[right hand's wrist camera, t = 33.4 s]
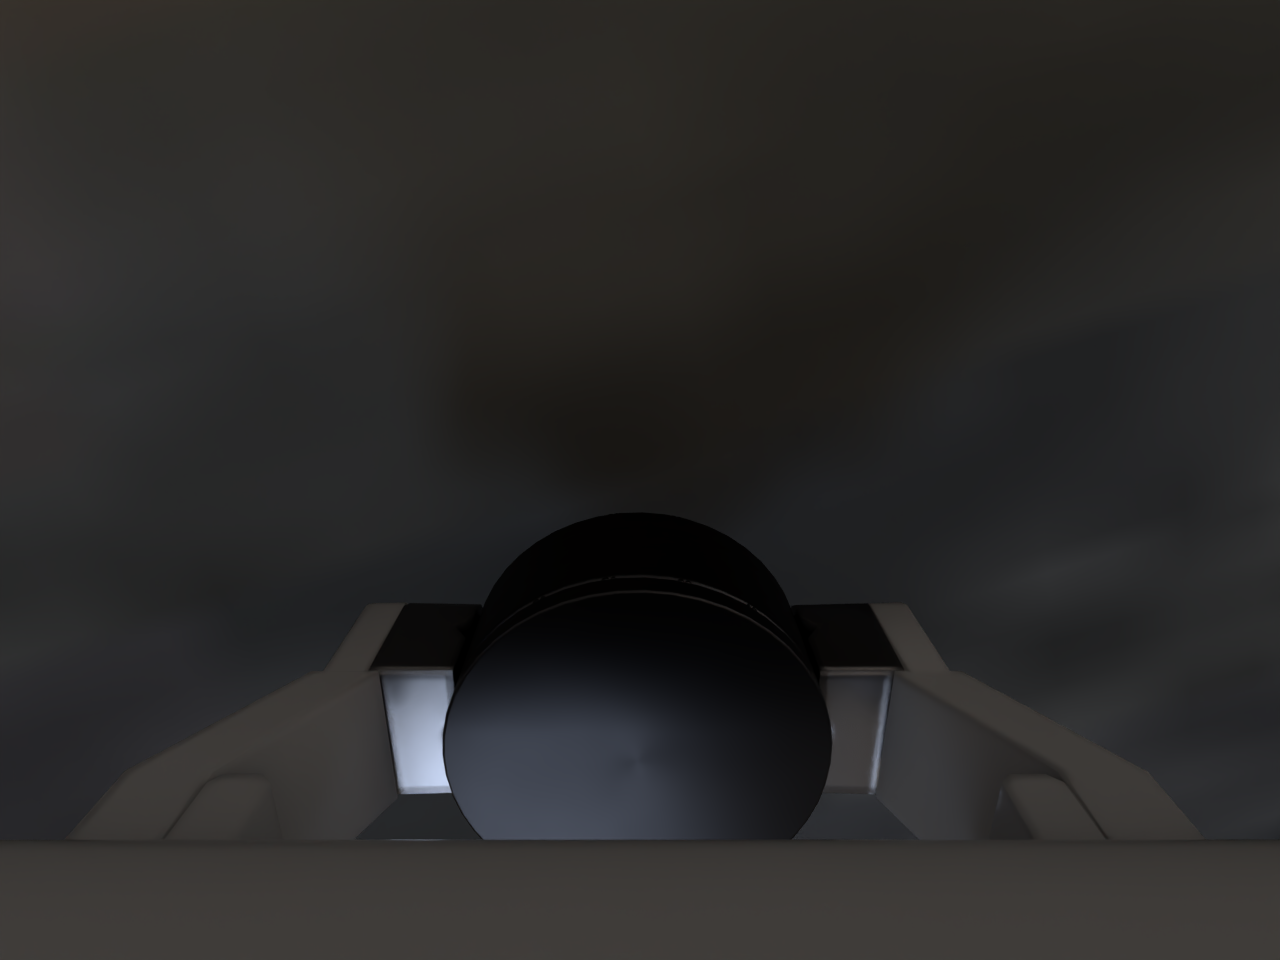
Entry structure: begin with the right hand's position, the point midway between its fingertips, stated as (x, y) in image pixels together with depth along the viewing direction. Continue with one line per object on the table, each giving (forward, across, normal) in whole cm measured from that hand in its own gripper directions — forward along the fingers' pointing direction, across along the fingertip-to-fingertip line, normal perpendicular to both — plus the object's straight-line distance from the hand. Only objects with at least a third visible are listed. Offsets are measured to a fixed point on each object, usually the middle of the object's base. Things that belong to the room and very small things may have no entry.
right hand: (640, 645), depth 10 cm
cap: (-2, 0, 0) cm, 2 cm away
